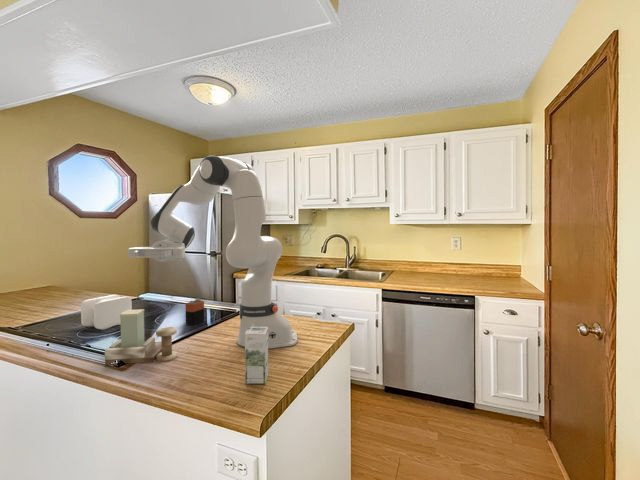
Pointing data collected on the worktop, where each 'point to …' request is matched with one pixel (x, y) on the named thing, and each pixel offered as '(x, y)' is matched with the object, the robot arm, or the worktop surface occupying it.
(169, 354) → the bobbin
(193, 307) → the battery
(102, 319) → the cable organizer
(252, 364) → the syrup box
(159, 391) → the worktop surface
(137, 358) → the winding board
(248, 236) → the robot arm
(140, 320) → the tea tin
